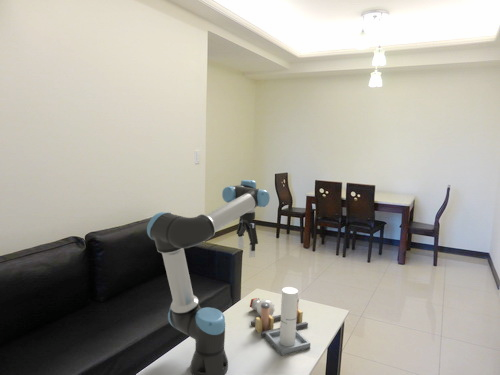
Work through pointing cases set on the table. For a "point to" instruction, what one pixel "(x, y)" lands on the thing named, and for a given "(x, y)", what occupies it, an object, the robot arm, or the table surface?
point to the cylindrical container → (288, 316)
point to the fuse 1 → (265, 316)
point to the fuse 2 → (297, 311)
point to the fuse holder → (258, 321)
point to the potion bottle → (257, 303)
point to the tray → (299, 345)
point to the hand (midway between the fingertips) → (246, 252)
